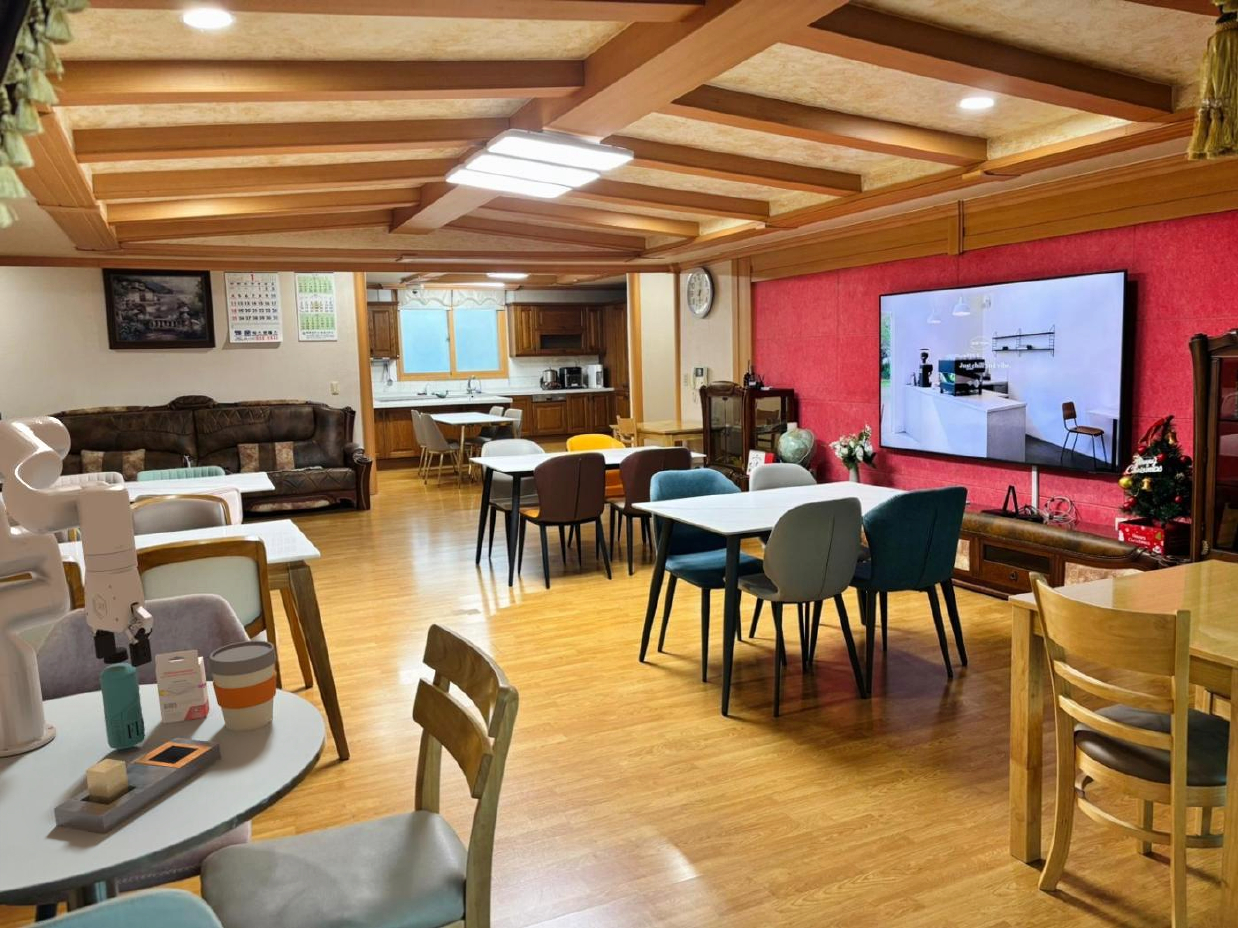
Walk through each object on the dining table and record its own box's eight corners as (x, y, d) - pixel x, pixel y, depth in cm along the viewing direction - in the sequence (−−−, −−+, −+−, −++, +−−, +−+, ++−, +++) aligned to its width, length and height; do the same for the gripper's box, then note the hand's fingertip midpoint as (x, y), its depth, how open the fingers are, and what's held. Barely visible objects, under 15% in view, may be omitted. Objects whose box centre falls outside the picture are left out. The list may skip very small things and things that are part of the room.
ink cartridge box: (210, 708, 190) (203, 642, 188) (206, 717, 185) (199, 649, 183) (165, 714, 187) (158, 647, 185) (161, 724, 183) (153, 655, 180)
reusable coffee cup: (280, 728, 179) (273, 656, 176) (212, 739, 175) (204, 666, 173) (283, 704, 190) (277, 636, 188) (219, 713, 187) (212, 645, 185)
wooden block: (91, 815, 148) (85, 769, 147) (111, 802, 152) (106, 758, 151) (110, 818, 147) (104, 772, 146) (130, 805, 151) (124, 761, 150)
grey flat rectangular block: (56, 825, 145) (53, 807, 145) (177, 752, 170) (176, 736, 169) (104, 833, 142) (102, 815, 142) (221, 757, 167) (219, 742, 166)
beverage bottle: (130, 757, 168) (117, 656, 165) (99, 755, 170) (86, 654, 167) (154, 742, 175) (142, 643, 172) (125, 740, 176) (113, 642, 173)
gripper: (57, 561, 148) (71, 660, 150) (120, 570, 139) (134, 675, 142) (102, 551, 154) (115, 646, 157) (165, 559, 146) (177, 659, 148)
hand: (124, 660), depth 149 cm, fingers open, 9 cm apart
